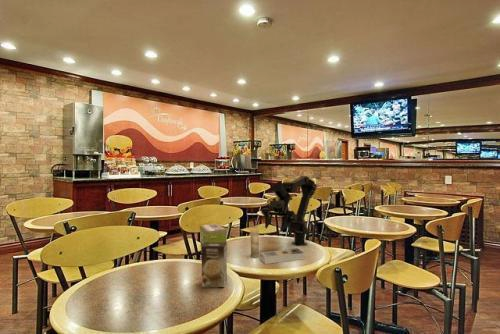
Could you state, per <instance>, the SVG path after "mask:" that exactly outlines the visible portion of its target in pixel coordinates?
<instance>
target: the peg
mask: <svg viewBox="0 0 500 334" xmlns="http://www.w3.org/2000/svg"><path fill="white" fill-rule="evenodd" d="M259 235H260V234H259V230H258V229H251V230H250V257H251V258H253V259H258V258H259V257H260V250H259V249H260V244H259V243H260V239H259Z"/></svg>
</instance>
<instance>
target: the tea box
mask: <svg viewBox="0 0 500 334" xmlns="http://www.w3.org/2000/svg"><path fill="white" fill-rule="evenodd" d="M199 234H200V236H199V237H200V241H199V242H200V247H201V246H202V245H203V244H204V242H226V251H227V252H228V247H227V246H228V242H227V228H225V227H223V226H222V225H220V224H219V223H210V224H204V225H203V224H202V225H201V224H200V225H199Z"/></svg>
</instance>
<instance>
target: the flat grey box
mask: <svg viewBox="0 0 500 334" xmlns="http://www.w3.org/2000/svg"><path fill="white" fill-rule="evenodd" d="M305 255H306V254H305V252H303V251H302V250H301V249H299V248H290V249H281V250H272V251H264V252H263V251H262V252H259V257H260V260H261V261H262V262H263V263H264V265H269V264H273V263H274V264H277V263H285V262H291V261H292V262H294V261H300V260H305V258H306V256H305Z"/></svg>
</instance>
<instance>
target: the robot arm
mask: <svg viewBox="0 0 500 334" xmlns="http://www.w3.org/2000/svg"><path fill="white" fill-rule="evenodd" d="M298 188H300V189H301V192H302V193H301V198H300V201H299V205H298V208H297V211H296V212H295V211H294V210H289V207H290V206H289V205H290V201H293V197H292V194H295V192H297V190H298ZM317 188H318V186H317V184H316V183H315V181H314V180H312V178H310V177H309V176H305V175H304V176H303V175H302V176H299V177H297V178H296V179H294V180H291V181H284V182H282V181H280V180H279V181H277V182H276V183H275V184H273V185H272V186H271V191H272V192H273V194H274V195H275V196H276V197H277V198H278V200H276V201H275V200H269V207H268V208H262V209H261V211H260V214H262V215H263V216H264V228H265V229H267V228H268V227H269V226H270V223H271V222H272V220H273V219H272V218H273V216H274V217H283V222H282V223H281V224H282V225H281V226H280V230H281V231H284V230H285V229H286V228H287V227H288V226H289V229H290V233H291V234H293V235H294V236H293V238H294V241H292V244H294V245H295V246H305V245H307V244H308V243H307V242H306V241H305V235H307V234H308V232H309V229H308V227H307V225H306V224H307V223H306V219H305V217H306V213H307V210H308V207H309V203H310V200H311V197H312V196H313V195H314V194H315V193H316V190H317ZM270 208H272V209H270ZM271 210H272V211H271Z"/></svg>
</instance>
